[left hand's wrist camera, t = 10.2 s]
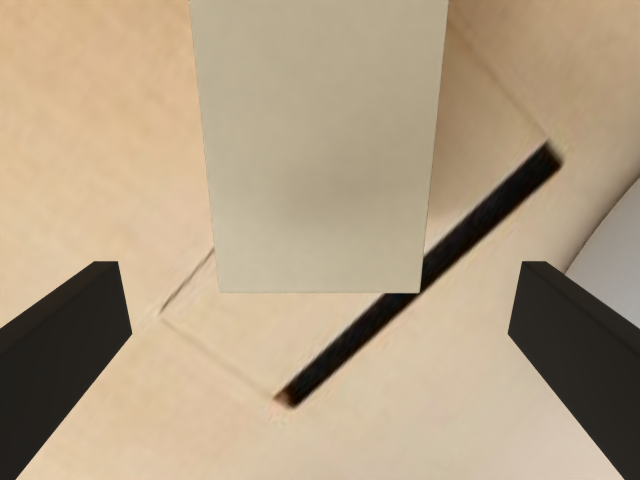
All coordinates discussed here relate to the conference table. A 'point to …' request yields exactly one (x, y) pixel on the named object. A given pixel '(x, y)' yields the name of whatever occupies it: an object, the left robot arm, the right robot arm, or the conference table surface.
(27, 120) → the conference table surface
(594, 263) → the projector
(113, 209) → the conference table surface
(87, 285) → the left robot arm
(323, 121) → the cabinet
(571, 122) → the conference table surface
